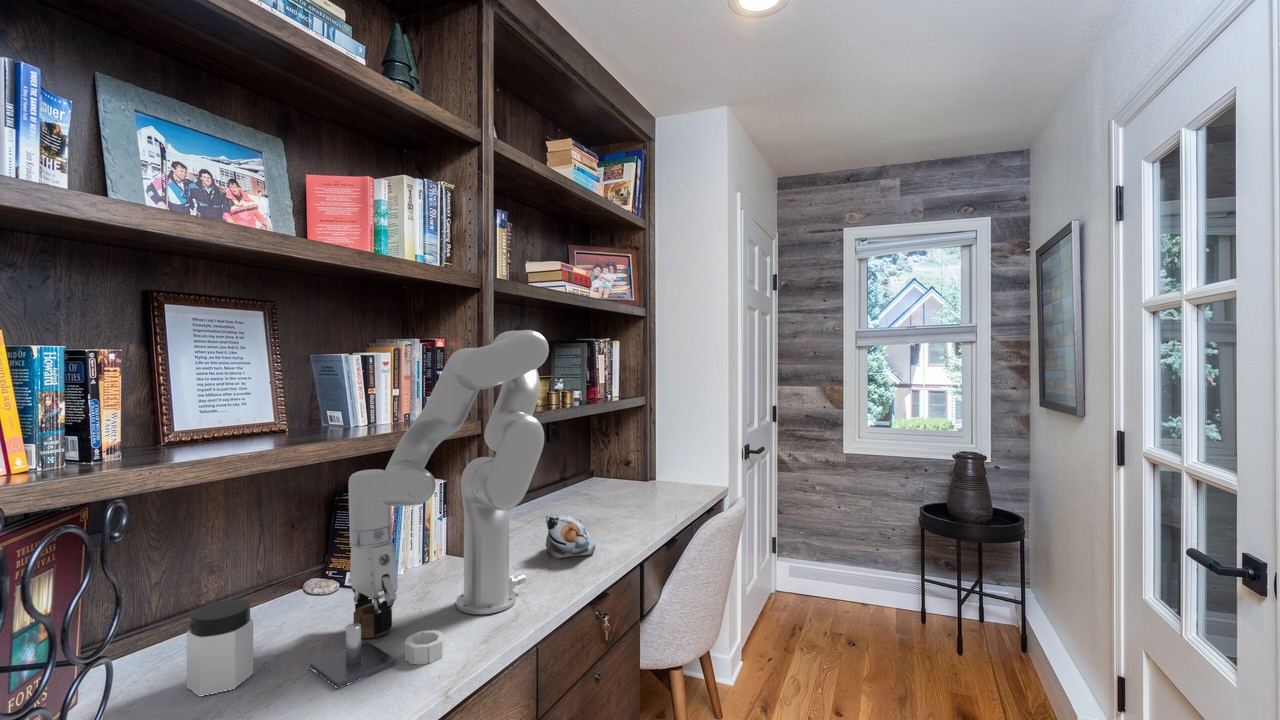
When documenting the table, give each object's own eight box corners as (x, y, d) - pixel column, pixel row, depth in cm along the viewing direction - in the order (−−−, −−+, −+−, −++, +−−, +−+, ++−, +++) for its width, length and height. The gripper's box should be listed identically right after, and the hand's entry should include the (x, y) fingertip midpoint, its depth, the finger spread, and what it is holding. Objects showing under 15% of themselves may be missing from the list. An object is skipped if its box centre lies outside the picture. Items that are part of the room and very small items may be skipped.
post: (367, 646, 110) (367, 608, 110) (395, 664, 104) (396, 624, 104) (310, 668, 102) (310, 628, 102) (337, 689, 96) (337, 646, 96)
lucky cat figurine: (605, 551, 165) (603, 513, 158) (575, 579, 156) (572, 541, 149) (565, 527, 172) (562, 490, 166) (535, 552, 164) (530, 515, 157)
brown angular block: (380, 619, 121) (380, 599, 120) (397, 628, 117) (397, 608, 116) (348, 631, 116) (348, 610, 115) (365, 641, 112) (364, 620, 111)
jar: (215, 667, 103) (215, 598, 102) (262, 668, 102) (262, 598, 102) (174, 697, 94) (174, 621, 93) (226, 698, 94) (226, 621, 93)
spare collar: (430, 643, 112) (430, 627, 112) (451, 653, 108) (451, 637, 108) (398, 656, 107) (399, 639, 107) (418, 668, 103) (418, 650, 103)
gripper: (413, 538, 113) (415, 631, 114) (367, 522, 124) (369, 607, 124) (375, 548, 107) (377, 647, 108) (330, 531, 118) (332, 621, 118)
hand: (373, 625), depth 116 cm, fingers closed on brown angular block, 6 cm apart
